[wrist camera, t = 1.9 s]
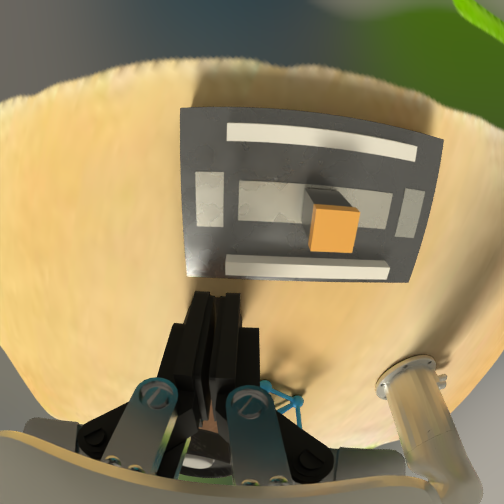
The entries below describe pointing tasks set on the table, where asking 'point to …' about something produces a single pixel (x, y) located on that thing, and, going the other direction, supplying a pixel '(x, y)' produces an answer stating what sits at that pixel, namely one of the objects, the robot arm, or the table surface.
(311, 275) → the switch panel
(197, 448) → the travel mug
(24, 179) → the table surface
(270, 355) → the table surface
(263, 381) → the molecular structure
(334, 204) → the switch handle
